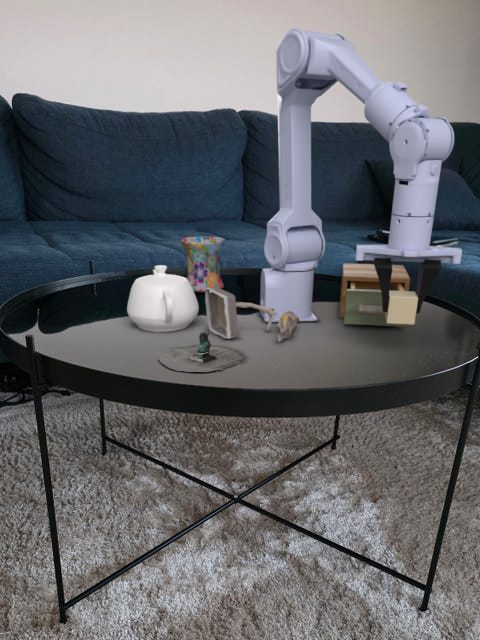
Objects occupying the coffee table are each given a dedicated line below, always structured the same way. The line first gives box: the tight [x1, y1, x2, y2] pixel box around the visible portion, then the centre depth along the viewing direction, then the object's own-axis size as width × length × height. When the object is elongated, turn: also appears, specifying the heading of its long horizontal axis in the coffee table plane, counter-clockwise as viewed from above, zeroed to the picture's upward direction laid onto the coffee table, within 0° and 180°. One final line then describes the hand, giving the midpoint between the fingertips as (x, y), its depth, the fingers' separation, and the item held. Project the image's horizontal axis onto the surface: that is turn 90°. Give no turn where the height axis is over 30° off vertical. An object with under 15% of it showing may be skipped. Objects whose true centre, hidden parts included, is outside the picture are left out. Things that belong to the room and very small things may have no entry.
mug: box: [180, 235, 226, 294], centre depth 127 cm, size 12×9×11 cm
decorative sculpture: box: [204, 287, 300, 343], centre depth 97 cm, size 16×10×7 cm, turn 94°
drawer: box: [343, 281, 407, 328], centre depth 103 cm, size 16×10×6 cm, turn 171°
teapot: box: [126, 264, 200, 333], centre depth 102 cm, size 20×12×10 cm, turn 14°
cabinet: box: [339, 262, 411, 319], centre depth 112 cm, size 13×12×8 cm
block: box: [385, 290, 418, 326], centre depth 88 cm, size 4×4×4 cm
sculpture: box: [158, 331, 243, 371], centre depth 88 cm, size 12×9×8 cm
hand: (400, 311), depth 88 cm, fingers closed on block, 4 cm apart
